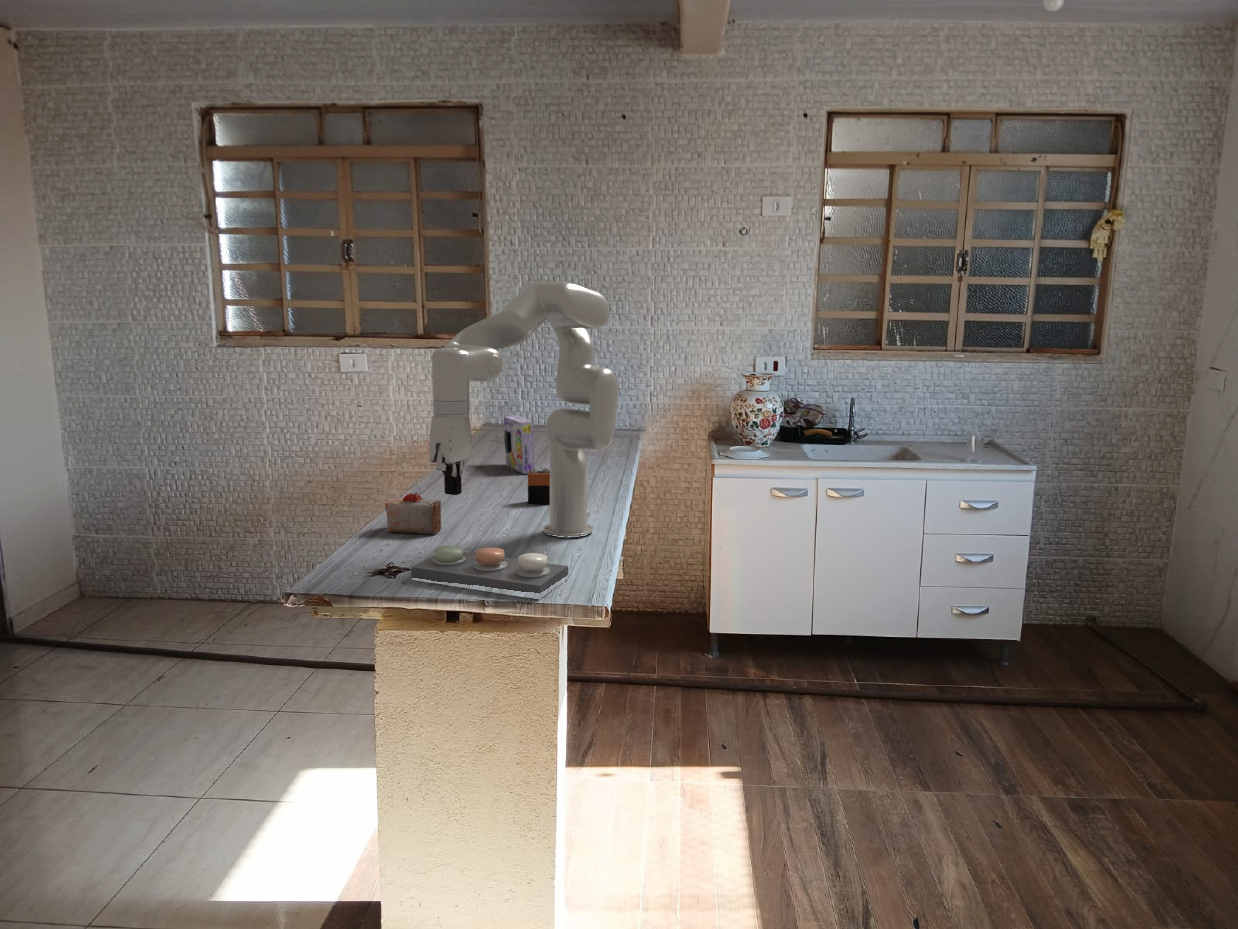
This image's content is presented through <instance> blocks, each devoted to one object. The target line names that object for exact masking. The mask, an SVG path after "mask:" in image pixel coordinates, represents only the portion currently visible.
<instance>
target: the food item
mask: <svg viewBox="0 0 1238 929" xmlns="http://www.w3.org/2000/svg"><path fill="white" fill-rule="evenodd" d="M441 504H442V502H441V500H440V499H432V498H431V499H429V498H422V496H421V495H420V494H418V492H417V491H415V492H414V493H411V492H410V493H408V494H406V495H404V497H396V498H395V497H394V498H389V499H388V500H387V501H386V502H385V503H384V508H385V512H386V516H387V517H386V521H387V522H386V523H387V533H390V532H393V534H395V533H394V532H398V533H397V534H414V533H418V534H417V535H428V534H435V535H436V534H438V533H439V532H441V531H440V530H442V508H441V507H442V506H441ZM438 531H439V532H438ZM402 532H403V533H402Z"/></svg>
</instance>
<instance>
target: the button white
mask: <svg viewBox="0 0 1238 929" xmlns="http://www.w3.org/2000/svg"><path fill="white" fill-rule="evenodd" d="M517 559H518V567H519V568H521V569H524V570H540V569H544V568H546V567H547V563H548V556H547V555H545V554H543V553H539V552H538V553H537V552H527V553H523V554H520V555H519V556H518V557H517Z"/></svg>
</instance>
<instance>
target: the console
mask: <svg viewBox="0 0 1238 929" xmlns="http://www.w3.org/2000/svg"><path fill="white" fill-rule="evenodd" d="M410 570H411V571H410V576H411V577H410V579H411V578H419V579H426V580H431V581H437V582H448V583H459V584H465V585H466V584H467V585H479V586H485V587H491V588H498V589H507V590H514V591H521V592H534V593H539V594H540V593H541V592H543V591H545V590H546V589H548V588H549V587H550V586H551V585H554V584H555V583H556V582H558V581H560V580H561V579H562V578H564V577H566V576H567V575H568V576H569V565H563V564H555V563H549V562H547V567H546V568H544V569H540V570H524V569H521V568H519V567H518V558H513V557H512V558H511V557H505V556H504V561H503V562H500V563H496V564H482V563H478V562H477V561H476V552H467V551H463V558H462V559H461V560H458V561H453V562H442V561H438V560H436V559H435V554H434V555H432V556H430V557H428V558H426V559H424V560H422V561H421V562H418V563H417V564H415V565H412V566H410Z"/></svg>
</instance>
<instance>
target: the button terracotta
mask: <svg viewBox="0 0 1238 929" xmlns="http://www.w3.org/2000/svg"><path fill="white" fill-rule="evenodd" d="M475 553H476V561H477V562H478V563H482V564H496V563H500V562H503V561H504V557H505V550H504V549H503V548H500V547H482V548H478V549H476V550H475Z"/></svg>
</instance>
